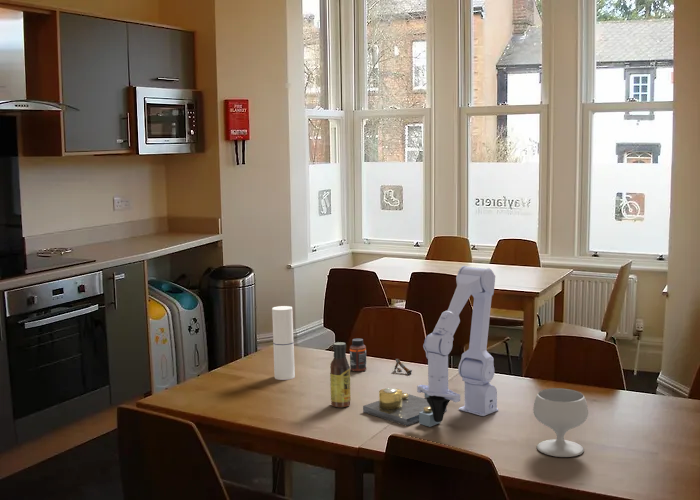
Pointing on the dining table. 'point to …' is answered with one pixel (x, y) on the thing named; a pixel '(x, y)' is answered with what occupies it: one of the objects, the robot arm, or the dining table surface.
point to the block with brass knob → (427, 417)
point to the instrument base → (401, 412)
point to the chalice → (560, 419)
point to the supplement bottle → (357, 355)
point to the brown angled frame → (402, 367)
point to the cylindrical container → (283, 342)
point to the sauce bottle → (340, 377)
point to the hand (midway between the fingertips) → (438, 420)
